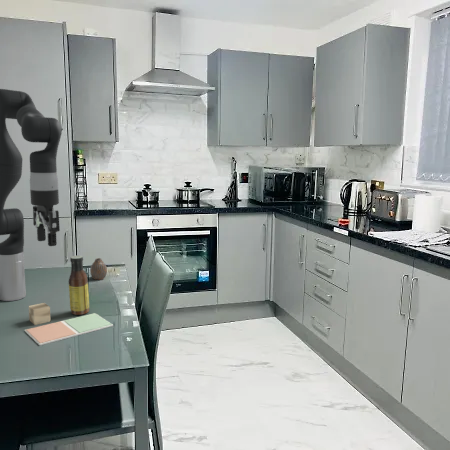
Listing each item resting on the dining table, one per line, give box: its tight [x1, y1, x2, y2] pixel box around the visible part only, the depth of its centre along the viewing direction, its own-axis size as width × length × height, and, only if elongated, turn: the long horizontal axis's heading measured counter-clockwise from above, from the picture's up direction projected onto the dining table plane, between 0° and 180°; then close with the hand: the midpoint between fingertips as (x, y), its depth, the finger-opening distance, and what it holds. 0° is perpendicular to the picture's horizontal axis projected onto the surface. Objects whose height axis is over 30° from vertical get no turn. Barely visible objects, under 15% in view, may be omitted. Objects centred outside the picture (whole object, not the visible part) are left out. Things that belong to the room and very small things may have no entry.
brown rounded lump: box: [89, 257, 108, 281], centre depth 192 cm, size 7×7×9 cm
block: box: [28, 302, 51, 326], centre depth 145 cm, size 5×5×5 cm
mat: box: [24, 312, 114, 346], centre depth 140 cm, size 13×23×1 cm, turn 131°
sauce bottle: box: [68, 255, 90, 316], centre depth 152 cm, size 7×6×20 cm
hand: (46, 243), depth 131 cm, fingers open, 8 cm apart
